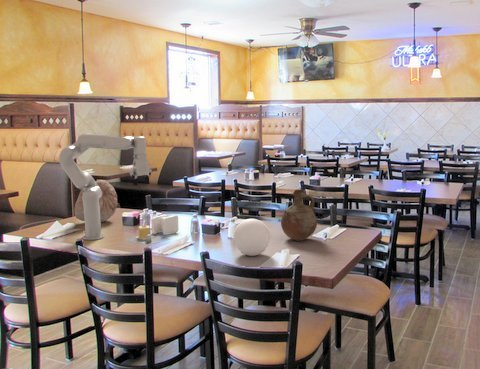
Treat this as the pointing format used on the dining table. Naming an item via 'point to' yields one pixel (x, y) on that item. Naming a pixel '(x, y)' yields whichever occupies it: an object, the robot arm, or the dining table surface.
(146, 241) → the board
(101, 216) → the fossil
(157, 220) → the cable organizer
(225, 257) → the dining table surface
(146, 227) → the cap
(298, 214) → the jug
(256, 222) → the sphere
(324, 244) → the dining table surface
